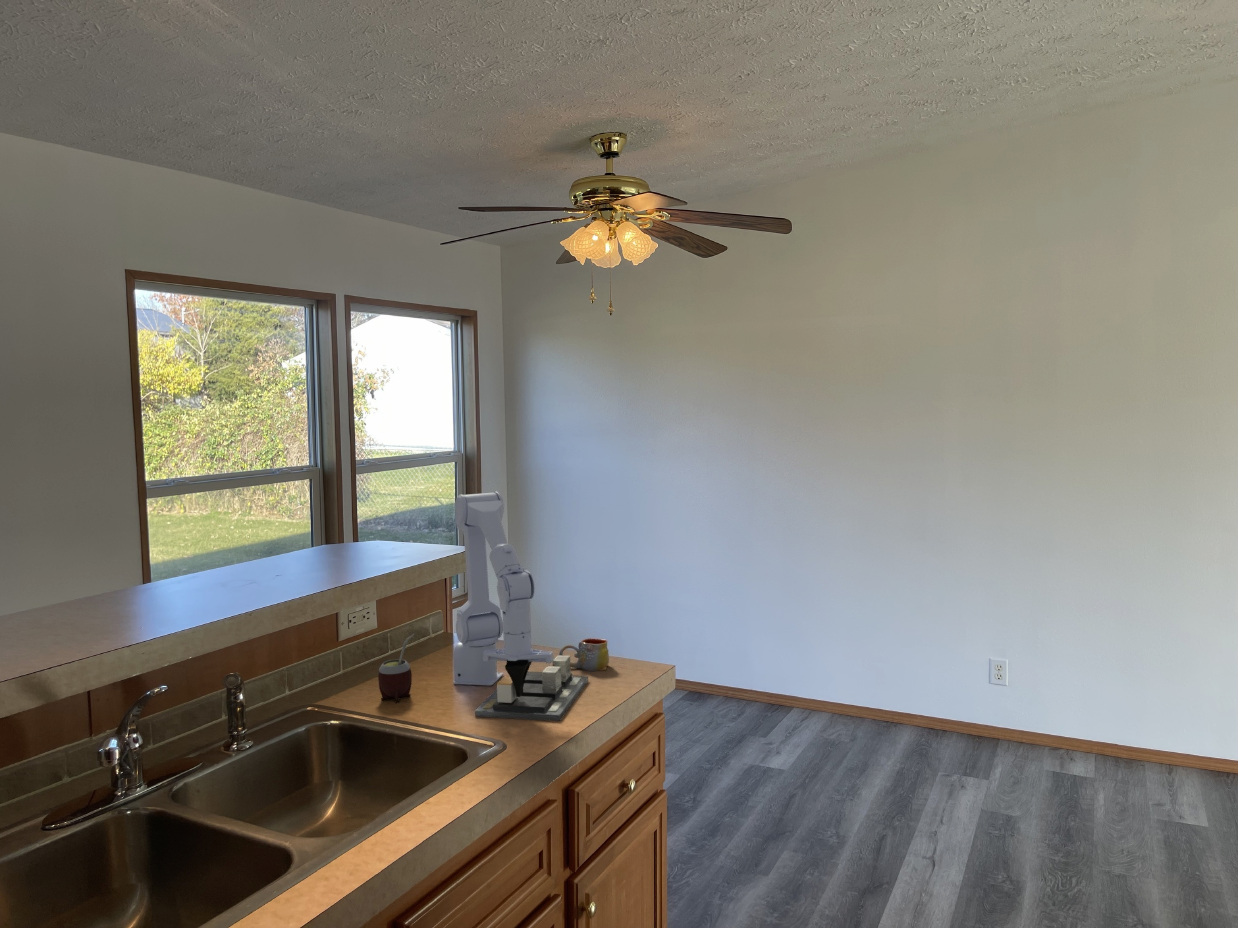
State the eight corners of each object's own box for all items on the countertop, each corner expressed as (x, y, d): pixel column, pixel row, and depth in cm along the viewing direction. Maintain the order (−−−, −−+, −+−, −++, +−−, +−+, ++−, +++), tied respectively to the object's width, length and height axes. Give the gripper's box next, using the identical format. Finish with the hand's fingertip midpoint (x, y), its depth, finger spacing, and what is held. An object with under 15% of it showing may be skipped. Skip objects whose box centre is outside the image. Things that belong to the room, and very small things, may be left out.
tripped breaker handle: (497, 701, 171) (496, 682, 170) (504, 695, 175) (503, 676, 174) (511, 702, 170) (510, 683, 170) (517, 695, 174) (517, 677, 174)
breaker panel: (474, 716, 170) (473, 685, 169) (513, 678, 193) (512, 651, 193) (559, 720, 166) (558, 689, 166) (588, 681, 190) (587, 653, 189)
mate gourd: (378, 695, 184) (375, 629, 183) (414, 690, 187) (411, 625, 186) (380, 706, 177) (377, 637, 176) (418, 701, 180) (415, 633, 179)
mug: (608, 662, 204) (608, 636, 203) (609, 671, 197) (609, 643, 196) (559, 664, 203) (559, 637, 203) (559, 673, 196) (558, 645, 196)
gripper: (476, 635, 168) (479, 700, 169) (545, 637, 165) (547, 703, 166) (489, 626, 175) (491, 688, 176) (555, 627, 172) (557, 691, 173)
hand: (519, 695), depth 172 cm, fingers closed
